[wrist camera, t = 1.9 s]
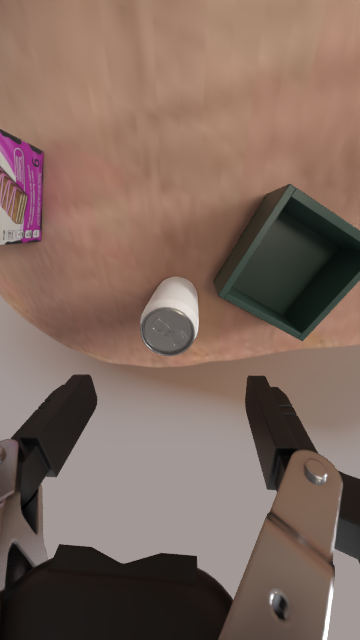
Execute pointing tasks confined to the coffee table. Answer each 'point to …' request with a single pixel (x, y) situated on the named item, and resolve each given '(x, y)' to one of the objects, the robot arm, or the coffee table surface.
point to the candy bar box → (20, 190)
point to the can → (171, 317)
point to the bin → (291, 262)
